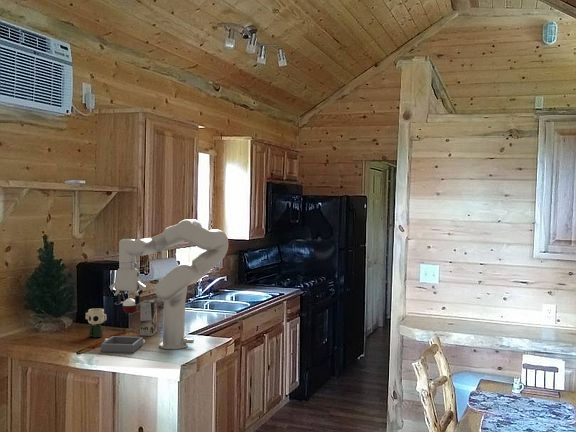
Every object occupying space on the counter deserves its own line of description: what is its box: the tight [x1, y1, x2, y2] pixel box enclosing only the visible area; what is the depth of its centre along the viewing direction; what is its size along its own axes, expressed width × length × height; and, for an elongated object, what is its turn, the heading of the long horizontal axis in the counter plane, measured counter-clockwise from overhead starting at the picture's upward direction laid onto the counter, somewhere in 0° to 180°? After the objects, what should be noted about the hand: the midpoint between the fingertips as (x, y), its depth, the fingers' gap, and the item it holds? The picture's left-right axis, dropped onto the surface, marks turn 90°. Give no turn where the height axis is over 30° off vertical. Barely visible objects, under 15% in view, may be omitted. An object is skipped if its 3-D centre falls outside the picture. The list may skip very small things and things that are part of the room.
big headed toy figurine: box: [85, 308, 107, 338], centre depth 290 cm, size 11×7×13 cm, turn 76°
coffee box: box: [139, 299, 158, 337], centre depth 300 cm, size 9×6×16 cm
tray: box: [100, 335, 144, 354], centre depth 271 cm, size 14×15×4 cm
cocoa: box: [120, 291, 141, 314], centre depth 282 cm, size 10×6×12 cm, turn 68°
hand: (127, 303), depth 282 cm, fingers closed on cocoa, 8 cm apart
